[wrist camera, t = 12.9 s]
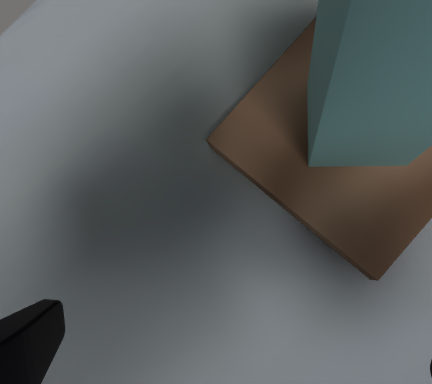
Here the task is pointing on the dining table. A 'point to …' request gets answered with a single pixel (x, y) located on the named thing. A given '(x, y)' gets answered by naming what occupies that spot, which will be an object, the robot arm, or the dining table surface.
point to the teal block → (370, 83)
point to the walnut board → (323, 170)
